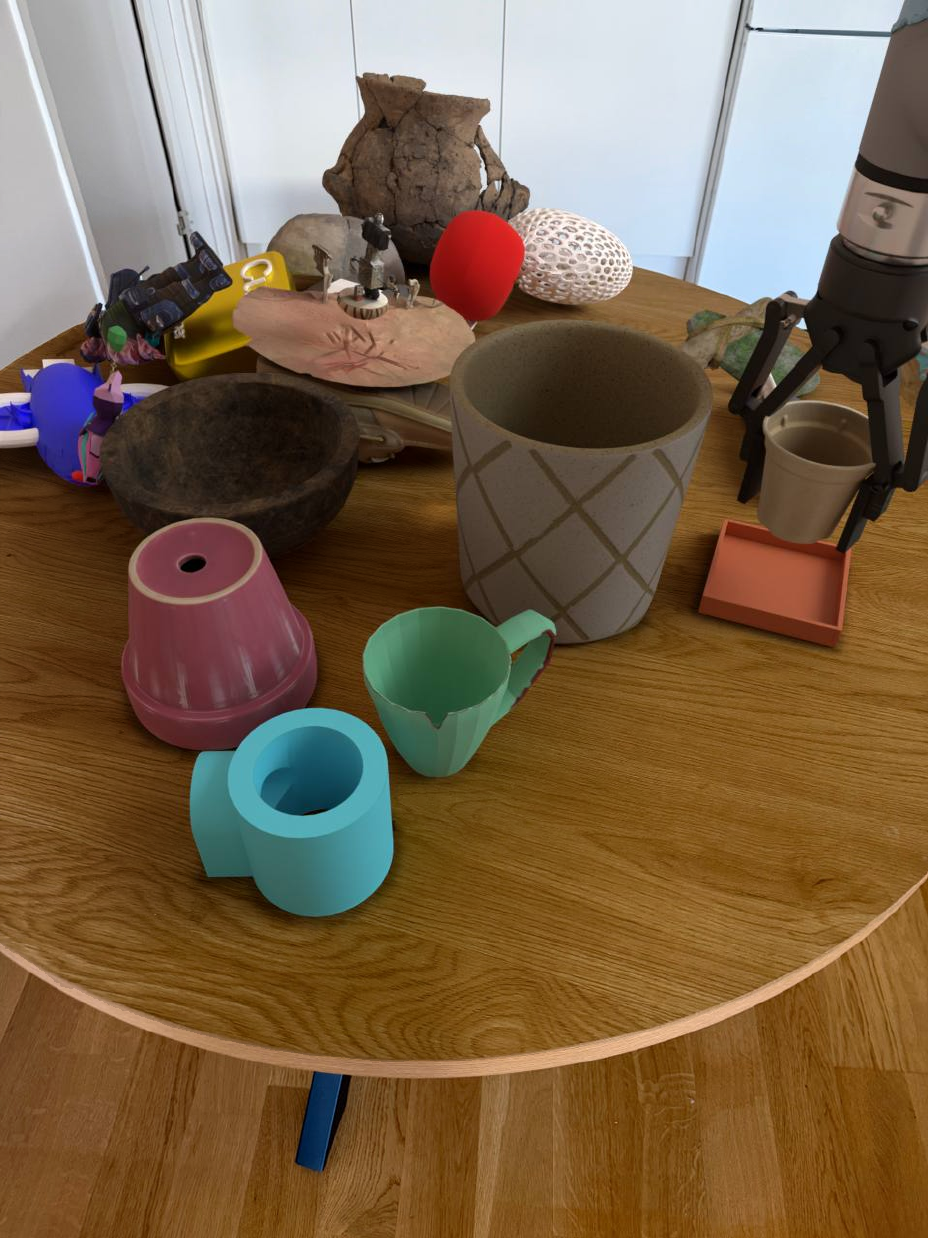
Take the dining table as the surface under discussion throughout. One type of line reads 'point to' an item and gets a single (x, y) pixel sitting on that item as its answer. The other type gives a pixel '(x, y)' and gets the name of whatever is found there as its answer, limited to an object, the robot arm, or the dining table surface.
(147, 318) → the action figure
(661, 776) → the dining table surface
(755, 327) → the stone axe
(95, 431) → the toy
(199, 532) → the flower pot
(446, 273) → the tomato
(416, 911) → the dining table surface
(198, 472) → the bowl
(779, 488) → the flower pot
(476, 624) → the mug
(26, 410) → the toy airplane
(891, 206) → the robot arm
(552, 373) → the planter
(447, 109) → the clay pot
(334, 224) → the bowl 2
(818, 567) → the pot tray
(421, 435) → the boat shoe
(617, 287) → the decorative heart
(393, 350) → the sculpture
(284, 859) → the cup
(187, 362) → the element tile
